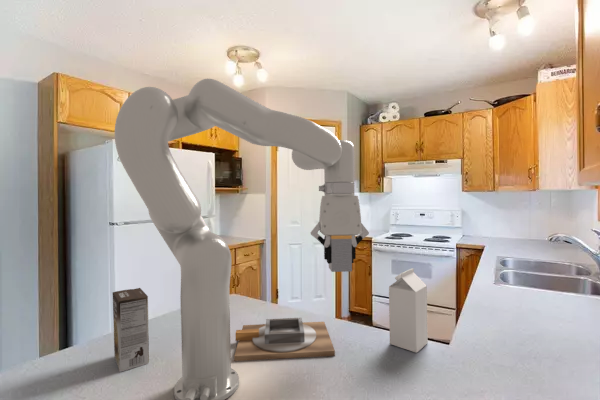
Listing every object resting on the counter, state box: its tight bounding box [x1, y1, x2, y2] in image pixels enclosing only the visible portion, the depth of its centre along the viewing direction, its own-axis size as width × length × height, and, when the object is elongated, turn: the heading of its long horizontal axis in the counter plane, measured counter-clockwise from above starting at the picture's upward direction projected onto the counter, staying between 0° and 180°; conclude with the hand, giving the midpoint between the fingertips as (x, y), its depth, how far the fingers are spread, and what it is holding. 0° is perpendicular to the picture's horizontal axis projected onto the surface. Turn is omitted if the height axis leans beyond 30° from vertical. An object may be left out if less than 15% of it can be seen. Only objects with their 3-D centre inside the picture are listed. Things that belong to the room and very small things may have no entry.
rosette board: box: [233, 317, 336, 362], centre depth 84 cm, size 18×25×4 cm
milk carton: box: [388, 267, 429, 353], centre depth 81 cm, size 7×7×19 cm
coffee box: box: [112, 287, 150, 373], centre depth 75 cm, size 9×6×16 cm
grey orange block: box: [328, 235, 353, 273], centre depth 79 cm, size 5×5×9 cm
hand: (339, 261), depth 79 cm, fingers closed on grey orange block, 5 cm apart
